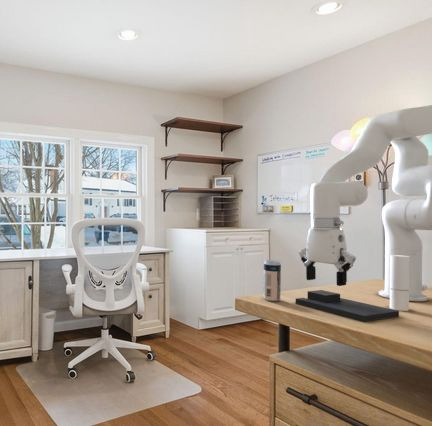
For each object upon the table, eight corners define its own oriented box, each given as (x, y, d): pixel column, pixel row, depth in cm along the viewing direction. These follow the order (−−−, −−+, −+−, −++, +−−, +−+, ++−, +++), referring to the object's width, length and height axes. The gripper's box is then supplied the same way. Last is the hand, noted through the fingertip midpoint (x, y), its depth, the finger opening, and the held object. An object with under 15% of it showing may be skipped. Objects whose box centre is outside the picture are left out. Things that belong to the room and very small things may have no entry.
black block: (321, 301, 114) (321, 289, 114) (340, 306, 109) (340, 293, 109) (307, 303, 112) (307, 291, 112) (325, 307, 106) (326, 295, 106)
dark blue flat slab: (328, 299, 117) (328, 295, 117) (399, 316, 98) (399, 310, 98) (295, 303, 111) (295, 298, 111) (364, 322, 93) (364, 315, 93)
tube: (412, 311, 104) (412, 257, 104) (394, 310, 105) (395, 256, 105) (403, 307, 108) (404, 255, 108) (386, 306, 109) (387, 254, 109)
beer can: (283, 302, 113) (283, 261, 113) (267, 301, 113) (267, 261, 113) (276, 298, 118) (276, 259, 118) (260, 298, 118) (261, 259, 118)
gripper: (363, 224, 104) (363, 286, 104) (308, 223, 120) (308, 276, 120) (345, 225, 101) (345, 289, 101) (291, 223, 117) (291, 278, 117)
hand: (325, 282), depth 111 cm, fingers open, 9 cm apart
